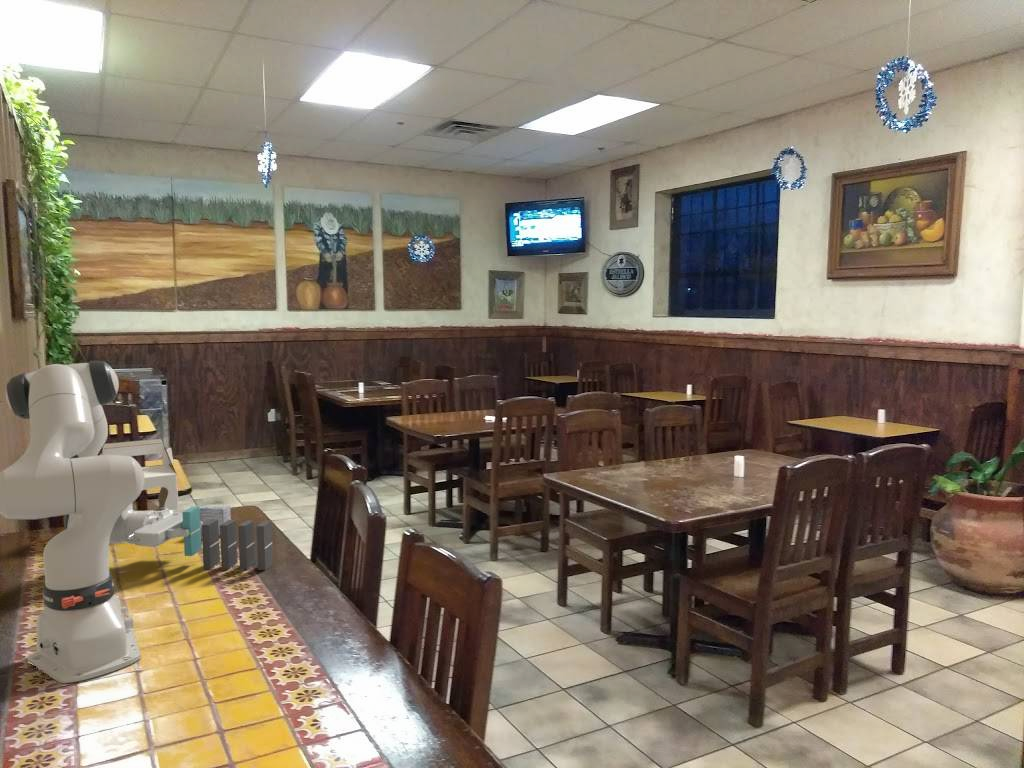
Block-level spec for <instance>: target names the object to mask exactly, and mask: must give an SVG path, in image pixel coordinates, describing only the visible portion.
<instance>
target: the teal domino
mask: <svg viewBox="0 0 1024 768" xmlns="http://www.w3.org/2000/svg"><path fill="white" fill-rule="evenodd" d="M200 508H201V507H200V506H191V507H189V508H187V509H185V511H183V512H182V515H183V529H190V535H189V536H187V537H183V550H184V557H193V556H194V555H196V554H198V553H199V552H200V551H203V546H202V536H201V527H200Z"/></svg>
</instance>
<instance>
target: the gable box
mask: <svg viewBox="0 0 1024 768" xmlns="http://www.w3.org/2000/svg"><path fill="white" fill-rule="evenodd" d="M101 450H102V451H101V453H99V454H100V455H122V456H131V457H137V456H144V455H145V456H146V455H158V454H160V455H161V457H162V464H157V465H155V464H154V465H147V466H141V468H142V470H143V473H144V486H143V489H142V491H147V490H150V489H151V490H152V489H154V488H155V489H156V488H160V490H159V493H158V497H157V501H158V509H159V508H168V509H169V510H179V493H178V491H179V490H178V476H177V475H178V473H177V472H176V469H175V468H174V458H173V451H172V447H167V448H166V447H165V446H164V442H163V440H162V439H161V438H153V439H152V438H151V439H144V440H143V439H142V440H131V441H122V442H121V441H120V442H119V441H118V442H111V443H110V442H109V443H104V445H103V447H102V449H101ZM97 456H98V455H97Z"/></svg>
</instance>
